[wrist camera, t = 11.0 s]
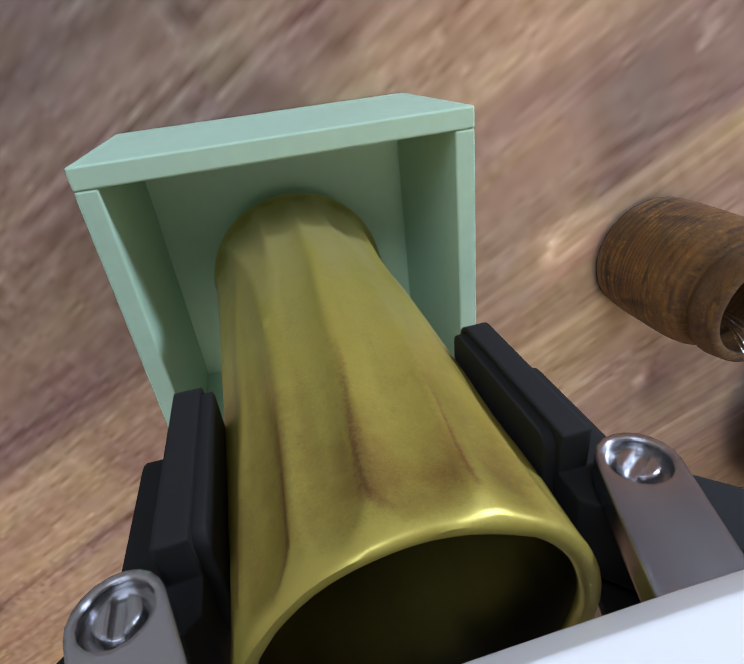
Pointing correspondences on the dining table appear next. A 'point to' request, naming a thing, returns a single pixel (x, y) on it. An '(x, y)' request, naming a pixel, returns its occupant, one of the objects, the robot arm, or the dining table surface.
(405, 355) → the vase
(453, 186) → the bin
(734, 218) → the utensil holder
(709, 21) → the dining table surface
